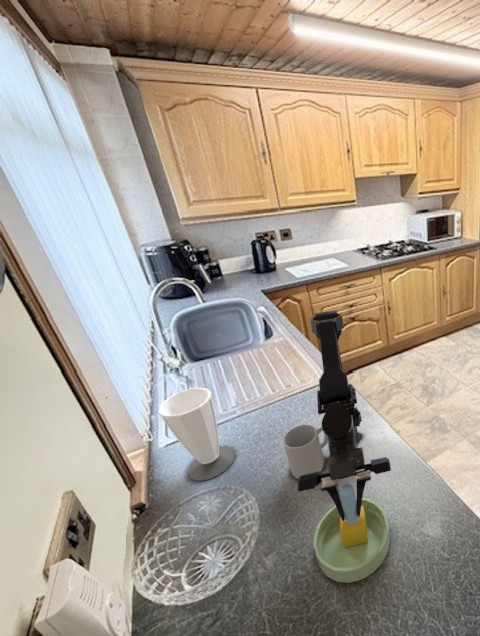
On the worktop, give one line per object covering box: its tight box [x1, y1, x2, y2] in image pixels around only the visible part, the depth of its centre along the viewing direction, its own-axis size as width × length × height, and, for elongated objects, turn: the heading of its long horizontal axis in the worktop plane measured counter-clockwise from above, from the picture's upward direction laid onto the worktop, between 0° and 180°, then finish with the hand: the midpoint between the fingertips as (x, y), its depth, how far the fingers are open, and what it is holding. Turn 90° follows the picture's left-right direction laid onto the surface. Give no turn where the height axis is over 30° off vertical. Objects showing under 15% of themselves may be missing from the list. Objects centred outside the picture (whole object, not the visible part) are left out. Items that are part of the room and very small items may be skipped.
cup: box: [157, 386, 236, 482], centre depth 90 cm, size 12×12×22 cm
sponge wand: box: [339, 483, 368, 548], centre depth 72 cm, size 5×5×14 cm
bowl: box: [313, 497, 391, 584], centre depth 73 cm, size 15×15×4 cm
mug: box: [282, 423, 329, 480], centre depth 92 cm, size 12×8×11 cm
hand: (351, 518), depth 71 cm, fingers closed on sponge wand, 3 cm apart
